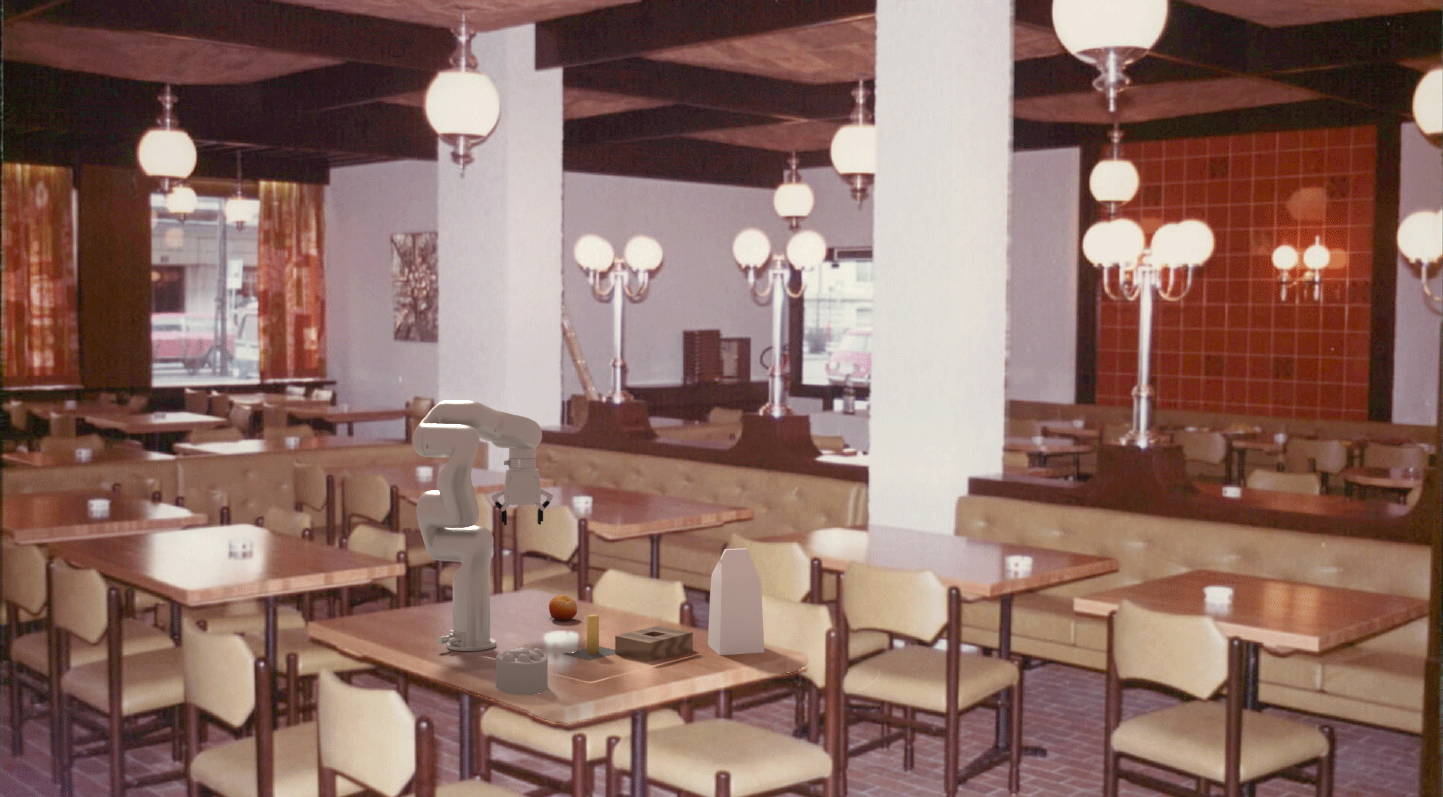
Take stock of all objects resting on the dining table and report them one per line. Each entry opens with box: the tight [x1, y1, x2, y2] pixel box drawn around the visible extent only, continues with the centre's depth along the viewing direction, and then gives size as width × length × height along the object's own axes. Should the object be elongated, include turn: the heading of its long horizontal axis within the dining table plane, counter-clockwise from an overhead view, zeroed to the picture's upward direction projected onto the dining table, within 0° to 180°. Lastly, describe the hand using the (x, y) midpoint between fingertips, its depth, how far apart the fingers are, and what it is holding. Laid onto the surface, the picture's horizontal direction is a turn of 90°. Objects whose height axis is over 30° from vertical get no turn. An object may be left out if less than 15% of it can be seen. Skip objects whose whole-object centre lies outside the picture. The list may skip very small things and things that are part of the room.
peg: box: [586, 614, 600, 654], centre depth 332 cm, size 3×3×10 cm
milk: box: [707, 547, 766, 656], centre depth 339 cm, size 12×12×26 cm
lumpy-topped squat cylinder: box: [495, 646, 549, 696], centre depth 300 cm, size 10×13×9 cm
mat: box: [563, 645, 616, 661], centre depth 333 cm, size 12×10×1 cm
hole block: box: [614, 625, 694, 663], centre depth 334 cm, size 16×12×5 cm
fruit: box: [548, 594, 578, 622], centre depth 374 cm, size 8×8×8 cm
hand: (522, 524), depth 372 cm, fingers open, 9 cm apart
